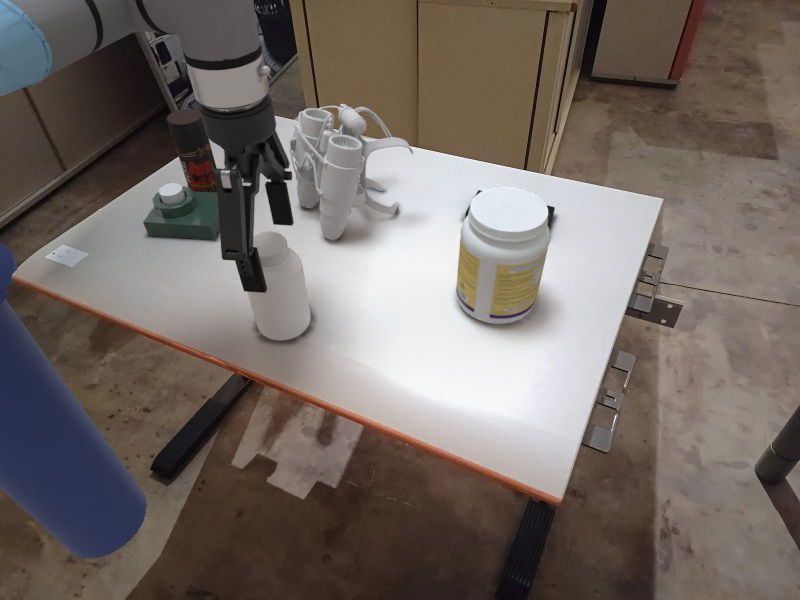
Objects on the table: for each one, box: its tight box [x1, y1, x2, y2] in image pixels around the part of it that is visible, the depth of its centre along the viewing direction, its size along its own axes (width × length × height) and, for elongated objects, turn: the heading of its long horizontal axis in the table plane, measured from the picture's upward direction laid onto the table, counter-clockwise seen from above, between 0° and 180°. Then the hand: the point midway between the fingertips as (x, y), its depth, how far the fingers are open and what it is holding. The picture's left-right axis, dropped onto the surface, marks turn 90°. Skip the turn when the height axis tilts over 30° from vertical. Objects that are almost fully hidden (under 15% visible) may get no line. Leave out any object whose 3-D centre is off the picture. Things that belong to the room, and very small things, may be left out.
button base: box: [142, 185, 220, 241], centre depth 98 cm, size 12×10×5 cm
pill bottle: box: [247, 231, 312, 342], centre depth 76 cm, size 8×8×15 cm
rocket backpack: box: [289, 103, 415, 241], centre depth 96 cm, size 18×19×20 cm
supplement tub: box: [455, 186, 551, 325], centre depth 79 cm, size 12×12×17 cm
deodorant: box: [166, 108, 217, 193], centre depth 101 cm, size 6×6×15 cm
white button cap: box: [158, 182, 186, 205], centre depth 96 cm, size 4×4×2 cm
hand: (270, 254), depth 72 cm, fingers open, 13 cm apart
